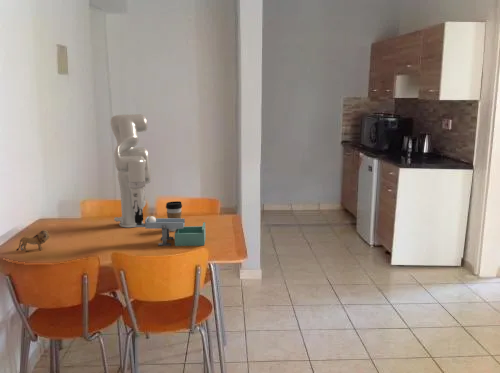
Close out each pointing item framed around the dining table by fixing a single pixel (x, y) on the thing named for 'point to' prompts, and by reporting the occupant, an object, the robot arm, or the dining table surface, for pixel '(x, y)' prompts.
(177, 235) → the bin
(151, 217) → the ball
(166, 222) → the chute
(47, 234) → the lion figurine
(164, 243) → the chute stand
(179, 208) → the coffee cup
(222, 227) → the dining table surface
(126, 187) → the robot arm
